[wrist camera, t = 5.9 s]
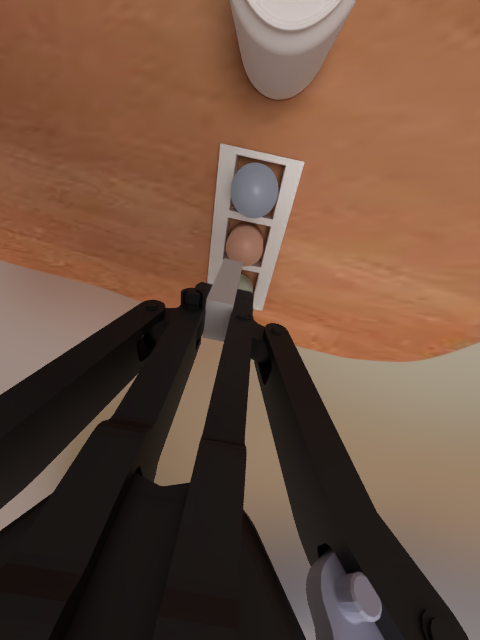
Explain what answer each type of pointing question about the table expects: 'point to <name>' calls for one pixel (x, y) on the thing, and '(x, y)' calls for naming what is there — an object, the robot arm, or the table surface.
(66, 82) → the table surface
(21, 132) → the table surface
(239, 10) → the beverage can
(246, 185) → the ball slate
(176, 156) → the table surface
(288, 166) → the three-ball tray
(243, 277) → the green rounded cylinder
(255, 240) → the button terracotta
